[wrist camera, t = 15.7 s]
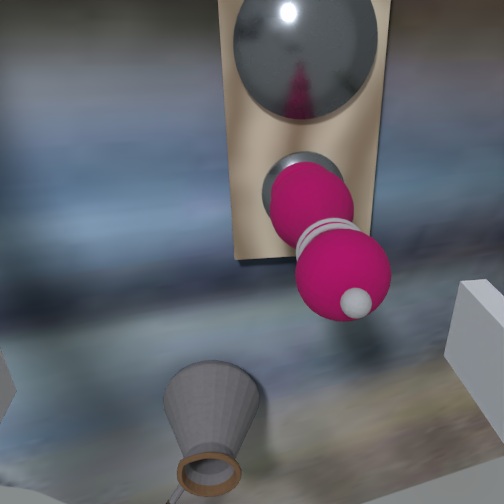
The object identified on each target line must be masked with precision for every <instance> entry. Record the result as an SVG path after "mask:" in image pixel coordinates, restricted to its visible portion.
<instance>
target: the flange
mask: <svg viewBox="0 0 504 504" xmlns="http://www.w3.org/2000/svg"><path fill="white" fill-rule="evenodd" d="M298 162H313V163H317V164H319V165H321V166H323V167H324V168H325V169H327V170H328V171H329V172H332V173H334V174H335V175H337V176H338V177H339V178H340V179H341V180H342V181H343V182H344V179H343V176H342V174H341V172H340V170H339V169H338V167H337V166H336V165H335V164H334V163H333V162H332V161H331V160H330V159H329V158H327V157H326V156H324V155H322V154H319V153H316V152H311V151H300V152H295V153H291V154H289V155H286V156H285V157H283V158H281V159H280V160H278V161H277V162H276V163H275V164H274V165H273V166H272V167H271V168H270V169H269V171H268V173H267V174H266V176H265V178H264V181H263V185H262V201H263V205H264V208H265V211H266V213H267V214H268V216H269V217H270V202H271V190H272V185H273V183H274V181H275V179H276V177H277V176H278V175H279V173H280V172H281V171H282V170H284V169H285V168H286V167H288V166H290V165H292V164H294V163H298Z"/></svg>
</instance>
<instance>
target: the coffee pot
mask: <svg viewBox="0 0 504 504" xmlns="http://www.w3.org/2000/svg"><path fill="white" fill-rule="evenodd" d="M163 403H164V410H165V413H166V415H167V417H168V420H169V422H170V425H171V427H172V430H173V432H174V434H175V437H176V439H177V442H178V444H179V447H180V449H181V452H182V454H183V456H184V458H183V459H182V460H180V462H179V465H178V469H177V479H178V482H179V485H178V486H177V488H176V490H175V491H174V493H173V495H172V496H171V498H170V499H169V500H168V501H167V503H166V504H175V503H176V502H177V500H178V499H179V497H180V496H181V494H182V493H183V491H184V490H186V491H188V492H189V493H191V494H194V495H197V496H204V497H213V496H219V495H223V494H225V493H227V492H229V491H231V490H232V489H234V488H235V487H236V486H237V484H238V483H239V481H240V479H241V468H240V466H239V464H238V463H237V462H236V460H235V458H236V455H237V453H238V451H239V449H240V447H241V445H242V442H243V440H244V438H245V436H246V434H247V432H248V429H249V427H250V425H251V423H252V421H253V419H254V417H255V414H256V412H257V409H258V406H259V393H258V390H257V387H256V384H255V383H254V382H253V380H252V379H251V378H250V376H249V375H248V374H247V373H246V372H245V371H243V370H242V369H241V368H239V367H238V366H235V365H233V364H231V363H228V362H223V361H217V360H212V361H201V362H197V363H193V364H191V365H189V366H187V367H185V368H183V369H182V370H180V371H179V372H178V373H177V374H176V375H175V376H174V377H173V378H172V379H171V381H170V382H169V384H168V385H167V387H166V389H165V392H164V396H163Z"/></svg>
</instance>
